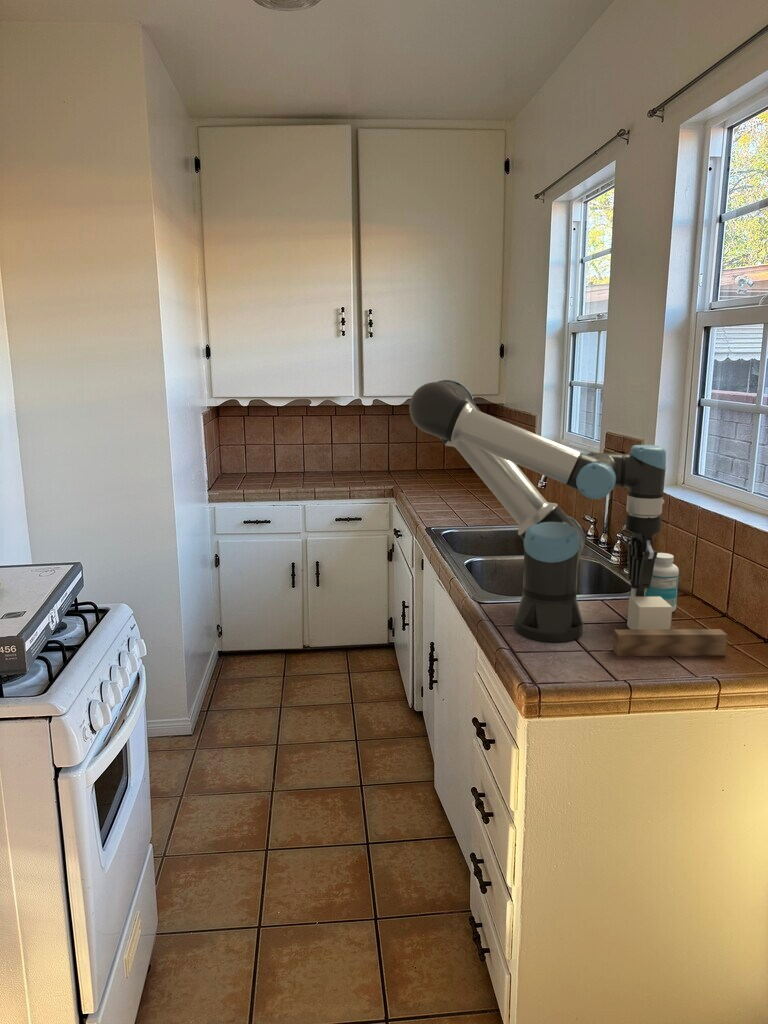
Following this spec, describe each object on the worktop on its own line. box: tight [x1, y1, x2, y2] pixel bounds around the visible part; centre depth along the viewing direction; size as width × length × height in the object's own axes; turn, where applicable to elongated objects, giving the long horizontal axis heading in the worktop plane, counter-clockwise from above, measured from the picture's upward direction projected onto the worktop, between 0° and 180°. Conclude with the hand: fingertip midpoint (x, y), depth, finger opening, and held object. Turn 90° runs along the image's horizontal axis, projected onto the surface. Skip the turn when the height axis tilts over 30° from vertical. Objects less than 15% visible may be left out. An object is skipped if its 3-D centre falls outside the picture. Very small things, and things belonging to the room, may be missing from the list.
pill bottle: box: [645, 552, 680, 613], centre depth 175 cm, size 8×7×14 cm
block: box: [626, 596, 673, 630], centre depth 162 cm, size 7×7×7 cm
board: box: [612, 628, 728, 657], centre depth 150 cm, size 22×3×4 cm, turn 90°
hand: (636, 613), depth 169 cm, fingers closed
